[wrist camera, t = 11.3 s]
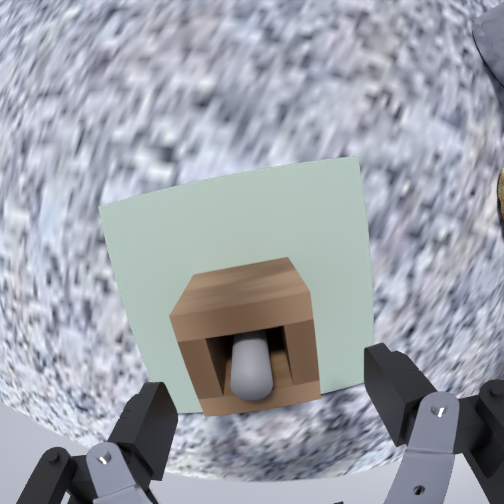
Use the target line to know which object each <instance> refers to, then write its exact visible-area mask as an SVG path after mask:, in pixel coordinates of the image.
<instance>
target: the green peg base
mask: <svg viewBox="0 0 504 504" xmlns="http://www.w3.org/2000/svg"><path fill="white" fill-rule="evenodd" d="M98 208H99V213H100V218H101V223H102V227H103V232H104V236H105V241H106V245H107V249H108V253H109V257H110V261H111V265H112V268H113V272H114V276H115V279H116V283H117V286H118V289H119V293H120V296H121V299H122V302H123V306H124V309H125V312H126V315H127V318H128V321H129V324H130V326H131V329H132V332H133V335H134V338H135V340H136V343H137V346H138V348H139V351H140V353H141V356H142V358H143V361H144V363H145V366H146V368H147V371H148V373H149V375H150V378H151V380H152V382H164V383H165V385H166V387H167V389H168V392H169V394H170V396H171V398H172V400H173V402H174V405H175V407H176V409H177V413H196V412H203V410H202V408H201V405H200V403H199V400H198V398H197V395H196V393H195V390H194V387H193V385H192V382H191V379H190V377H189V374H188V371H187V369H186V366H185V363H184V360H183V357H182V354H181V351H180V349H179V346H178V343H177V340H176V337H175V333H174V330H173V327H172V324H171V321H170V318H169V315H170V314H171V312H172V310H173V308H174V307H175V305H176V303H177V302H178V300H179V298H180V297H181V295H182V293H183V291H184V290H185V288H186V286H187V285H188V283H189V281H190V280H191V278H192V276H193V275H194V274H198V273H204V272H209V271H215V270H220V269H225V268H231V267H236V266H242V265H247V264H252V263H258V262H263V261H268V260H274V259H279V258H284V257H288V258H289V259H290V261H291V262H292V264H293V265H294V267H295V269H296V270H297V272H298V273H299V275H300V276H301V278H302V279H303V281H304V282H305V284H306V286H307V287H308V289H309V290H310V294H311V302H312V310H313V318H314V327H315V336H316V346H317V356H318V366H319V378H320V390H321V394H323V393H327V392H331V391H335V390H339V389H343V388H347V387H350V386H354V385H357V384H361V383H364V348H365V347H369V346H372V345H373V288H372V270H371V255H370V244H369V233H368V224H367V215H366V207H365V200H364V193H363V186H362V179H361V173H360V167H359V162H358V156H353V157H343V158H334V159H326V160H318V161H310V162H303V163H296V164H289V165H282V166H276V167H270V168H264V169H258V170H252V171H246V172H241V173H236V174H230V175H225V176H220V177H215V178H210V179H206V180H201V181H196V182H192V183H187V184H183V185H178V186H174V187H170V188H166V189H162V190H158V191H154V192H150V193H146V194H142V195H138V196H134V197H131V198H127V199H123V200H120V201H116V202H113V203H109V204H106V205H102V206H99V207H98ZM274 328H279V326H277V327H271V328H266V329H260V330H255V331H249V332H243V333H237V334H231V335H229V336H234V338H233V353H232V367H231V382H230V387H231V390H232V392H233V393H234V394H235V395H236V396H237V397H239V398H241V399H244V400H250V401H253V400H259V399H262V398H264V397H266V396H267V395H268V394H269V393H270V392H271V390H272V388H273V380H272V373H271V366H270V359H269V352H268V345H267V338H266V332H265V330H269V329H274Z"/></svg>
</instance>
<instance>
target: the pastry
mask: <svg viewBox="0 0 504 504" xmlns="http://www.w3.org/2000/svg"><path fill="white" fill-rule="evenodd" d="M498 197H499V199H500V202H501V209H500V210H501V214H502V218H503V221H504V168H502V170H501V173H500V180H499V183H498Z"/></svg>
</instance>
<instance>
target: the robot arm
mask: <svg viewBox="0 0 504 504" xmlns="http://www.w3.org/2000/svg"><path fill="white" fill-rule="evenodd" d="M472 31H473V35H474V39H475V41H476V44H477V46H478V48H479V51H480V53H481V55H482V56H483V58H484V60H485V62H486V63H487V65H488V66H489V68H490V70H491V71H492V72H493V74H494V75H495V76H496V78H497V79H498V80H499V81H500V82H501V84H502V85H503V86H504V2H503V3H502V4H500V5H498V6H496V7H494V8H493V9H491V10H489V11H487V12H486V13H484V14H482V15H481V16H479V17H477V18H476V19H475V20H474V21H473V23H472ZM364 384H365V388H366V391H367V393H368V395H369V396H370V398H371V400H372V402H373V404H374V406H375V408H376V410H377V411H378V413H379V415H380V417H381V419H382V421H383V423H384V425H385V427H386V429H387V430H388V432H389V434H390V436H391V438H392V440H393V442H394V444H395V446H396V447H398V446H401V445H403V444H406V445H407V449H406V451H405V453H404V456H403V459H402V462H401V464H400V467H399V469H398V472H397V474H396V477H395V479H394V482H393V484H392V486H391V489H390V491H389V493H388V495H387V498H386V500H385V502H384V504H443V502H444V499H445V496H446V492H447V489H448V485H449V481H450V477H451V473H452V469H453V464H454V459H455V454H459V453H463V455H464V457H465V458H466V460H467V462H468V464H469V465H470V467H471V469H472V471H473V473H474V474H475V476H476V478H477V480H478V481H479V484H480V485H481V487H482V489H483V491H484V493H485V495H486V497H487V498H488V501H489V503H490V504H504V381H503V380H498V379H496V380H490V381H488V382H486V383H484V384H483V385H482V387H481V389H480V391H479V394H478V395H475V396H470V397H466V398H461V399H457V398H456V397H455V396H454V395H453V394H451V393H448V392H438V391H437V390H436V389H435V387H434V386H433V385H432V384H431V383H430V381H429V380H428V379H427V378H426V377H425V376H424V374H423V373H422V372H421V371H419V369H418V367H417V366H416V365H415V364H414V363H413V362H412V360H411V359H410V358H409V357H408V356H407V355H405V354H403V353H401V352H399V351H394V352H391V351H390V350H389V349H388V348H387V346H386V345H385V344H384V343H379V344H376V345H372V346H369V347H365V348H364ZM177 423H178V413H177V409H176V407H175V405H174V402H173V400H172V398H171V396H170V394H169V392H168V389H167V387H166V385H165V383H164V382H146V383H144V385H143V387H142V389H141V391H140V393H139V394H135V395H134V396H133V397H132V398H131V399H130V400H129V401H128V402H127V404H126V406H125V407H124V409H123V412H122V413H121V415H120V419H118V421H117V423H116V425H115V427H114V429H113V431H112V433H111V435H110V437H109V439H108V441H107V442H103V443H99V444H97V445H95V446H93V447H92V448H91V449H90V450H89V452H88V453H87V455H81V456H71V455H70V454H69V453H68V452H67V451H66V449H64V448H61V447H54V448H51V449H49V450H47V451H46V452H45V453H44V454H43V455H42V457H41V459H40V460H39V462H38V464H37V466H36V468H35V469H34V471H33V473H32V475H31V476H30V478H29V480H28V482H27V484H26V486H25V488H24V490H23V491H22V493H21V495H20V497H19V499H18V501H17V503H16V504H61V501H62V499H63V496H64V494H65V492H67V493H68V494H69V495H70V498H69V501H68V503H67V504H160V502H159V500H158V499H157V497H156V495H155V494H154V492H153V490H152V489H151V488H150V486H149V484H150V481H151V480H157V481H162V478H163V474H164V470H165V467H166V463H167V459H168V455H169V452H170V448H171V445H172V441H173V437H174V434H175V430H176V427H177ZM335 504H343V502H339V503H335Z"/></svg>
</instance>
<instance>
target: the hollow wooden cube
mask: <svg viewBox="0 0 504 504" xmlns="http://www.w3.org/2000/svg"><path fill="white" fill-rule="evenodd" d="M169 318H170V321H171V324H172V327H173V330H174V333H175V337H176V340H177V343H178V346H179V349H180V351H181V354H182V357H183V360H184V363H185V366H186V369H187V371H188V374H189V377H190V379H191V382H192V385H193V387H194V390H195V393H196V395H197V398H198V400H199V403H200V405H201V408H202V410H203V413H204V415H205V417H207V416H218V415H228V414H237V413H245V412H252V411H259V410H266V409H272V408H278V407H283V406H289V405H294V404H299V403H303V402H308V401H313V400H317V399H321V390H320V378H319V366H318V356H317V346H316V336H315V327H314V318H313V310H312V302H311V294H310V290H309V289H308V287H307V286H306V284H305V282H304V281H303V279H302V278H301V276H300V275H299V273H298V272H297V270H296V269H295V267H294V265H293V264H292V262H291V261H290V259H289V258H288V257H284V258H279V259H274V260H268V261H263V262H258V263H252V264H247V265H242V266H236V267H231V268H225V269H220V270H215V271H209V272H204V273H198V274H194V275H193V276H192V278H191V280H190V281H189V283H188V285H187V286H186V288H185V290H184V291H183V293H182V295H181V297H180V298H179V300H178V302H177V303H176V305H175V307H174V308H173V310H172V312H171V314H170V315H169ZM277 326H279V328H274V329H269V330H265V332H266V338H267V345H268V352H269V359H270V366H271V373H272V380H273V388H272V390H271V392H270V393H269V394H268V395H267V396H266V397H264V398H262V399H259V400H253V401H250V400H244V399H241V398H239V397H237V396H236V395H235V394H234V393H233V392H232V390H231V387H230V382H231V367H232V353H233V338H234V336H229V335H231V334H237V333H243V332H249V331H255V330H260V329H266V328H271V327H277Z"/></svg>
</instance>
